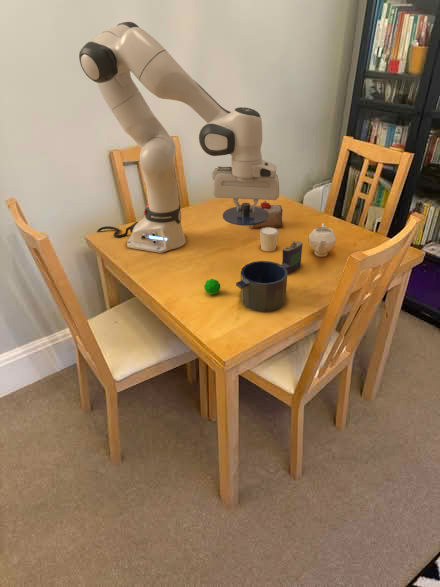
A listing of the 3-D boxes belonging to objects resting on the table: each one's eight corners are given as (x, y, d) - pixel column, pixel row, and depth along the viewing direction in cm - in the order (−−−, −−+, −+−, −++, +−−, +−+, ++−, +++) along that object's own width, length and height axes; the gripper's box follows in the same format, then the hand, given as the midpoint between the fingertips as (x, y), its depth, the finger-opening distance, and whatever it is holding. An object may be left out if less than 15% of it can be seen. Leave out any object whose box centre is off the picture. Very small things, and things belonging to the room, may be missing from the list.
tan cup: (276, 252, 153) (277, 235, 149) (258, 251, 154) (258, 234, 150) (278, 244, 159) (279, 227, 155) (260, 243, 160) (260, 226, 156)
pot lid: (213, 216, 135) (213, 202, 132) (249, 205, 142) (249, 192, 139) (241, 231, 125) (241, 217, 122) (278, 219, 132) (279, 205, 129)
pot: (224, 299, 129) (224, 272, 123) (271, 279, 138) (273, 254, 132) (252, 320, 119) (253, 292, 114) (301, 298, 128) (304, 271, 123)
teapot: (334, 242, 159) (337, 219, 154) (334, 268, 143) (337, 243, 138) (308, 240, 161) (310, 217, 156) (305, 265, 145) (308, 241, 140)
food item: (249, 230, 170) (249, 207, 165) (247, 222, 177) (247, 199, 171) (282, 229, 170) (284, 205, 165) (280, 221, 177) (281, 198, 171)
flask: (296, 263, 146) (298, 235, 140) (303, 266, 145) (306, 238, 139) (279, 273, 141) (281, 244, 135) (286, 276, 139) (288, 247, 133)
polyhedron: (210, 299, 129) (210, 286, 126) (201, 292, 132) (200, 279, 130) (223, 293, 131) (223, 280, 129) (214, 287, 135) (214, 274, 132)
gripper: (210, 169, 123) (211, 213, 131) (280, 171, 120) (277, 216, 128) (213, 163, 129) (215, 206, 136) (281, 165, 125) (278, 209, 133)
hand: (245, 211), depth 132 cm, fingers closed on pot lid, 2 cm apart
